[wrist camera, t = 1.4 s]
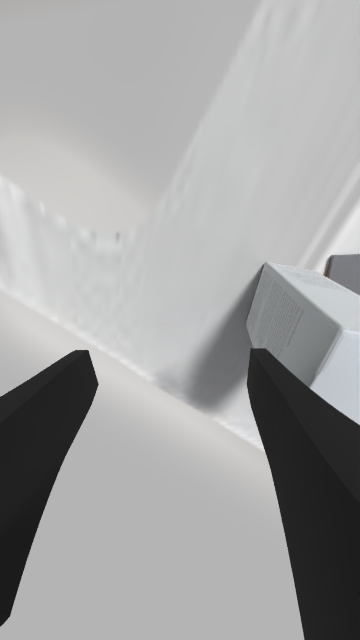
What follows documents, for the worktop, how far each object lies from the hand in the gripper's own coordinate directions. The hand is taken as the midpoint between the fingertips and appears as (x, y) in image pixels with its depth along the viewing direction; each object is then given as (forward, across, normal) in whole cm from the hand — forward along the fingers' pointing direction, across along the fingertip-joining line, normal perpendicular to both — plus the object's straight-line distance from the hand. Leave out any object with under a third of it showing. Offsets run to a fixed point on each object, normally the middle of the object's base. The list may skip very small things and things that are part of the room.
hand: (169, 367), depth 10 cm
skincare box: (+11, -8, +1) cm, 14 cm away
